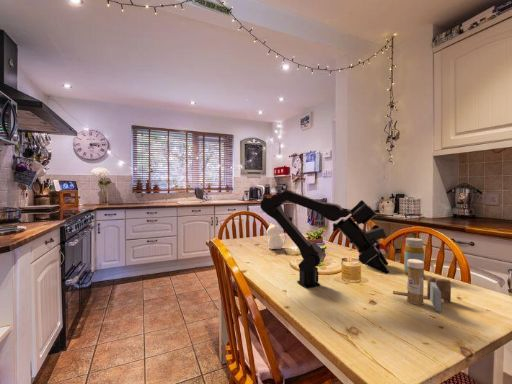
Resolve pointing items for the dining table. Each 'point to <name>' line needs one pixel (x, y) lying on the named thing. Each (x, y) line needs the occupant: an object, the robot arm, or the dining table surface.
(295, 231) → the robot arm
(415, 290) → the sprinkles bottle
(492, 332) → the dining table surface
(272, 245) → the cat figurine
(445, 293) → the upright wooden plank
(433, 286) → the door
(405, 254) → the bottle
